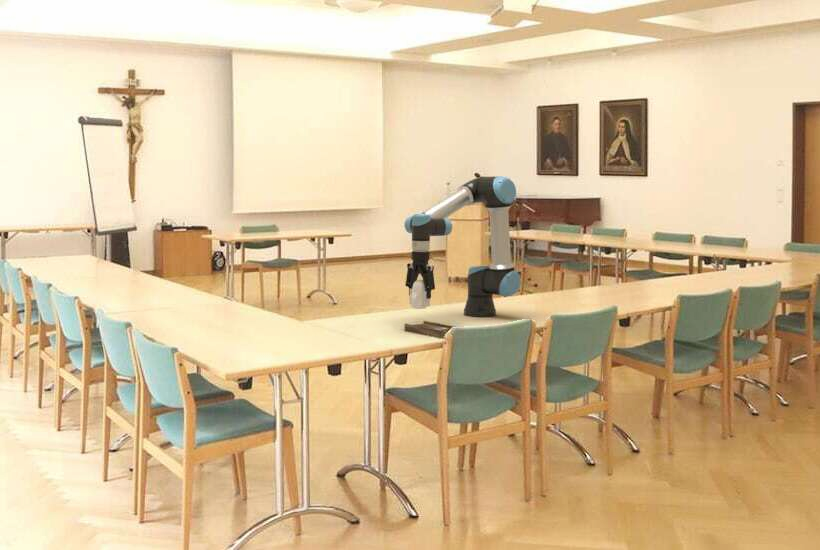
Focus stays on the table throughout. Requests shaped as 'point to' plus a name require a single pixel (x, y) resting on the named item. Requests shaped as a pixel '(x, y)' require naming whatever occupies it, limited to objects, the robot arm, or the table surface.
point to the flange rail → (429, 329)
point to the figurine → (418, 295)
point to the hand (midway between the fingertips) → (419, 304)
